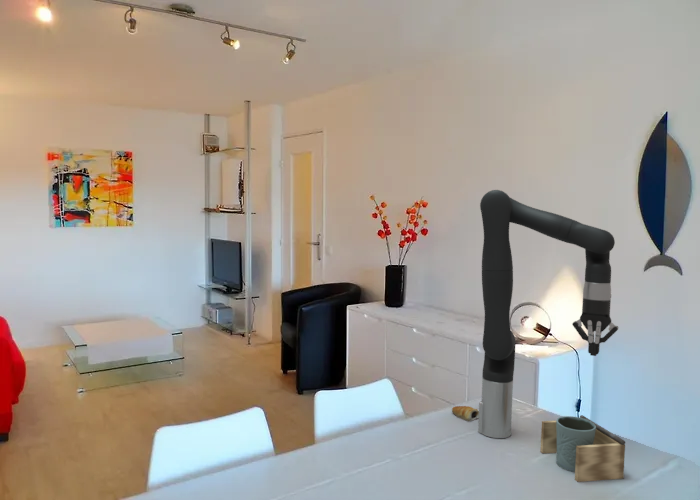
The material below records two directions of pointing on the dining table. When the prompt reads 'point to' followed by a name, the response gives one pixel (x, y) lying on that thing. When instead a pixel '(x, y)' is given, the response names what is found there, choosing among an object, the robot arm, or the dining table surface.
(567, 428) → the green ceramic pot
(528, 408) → the dining table surface
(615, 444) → the oak caddy
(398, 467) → the dining table surface
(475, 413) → the pastry
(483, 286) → the robot arm
